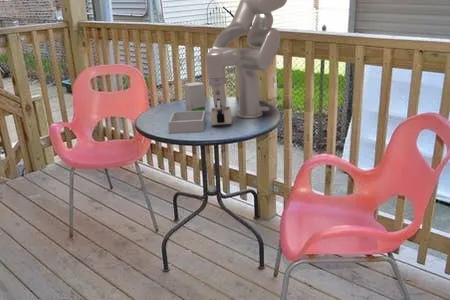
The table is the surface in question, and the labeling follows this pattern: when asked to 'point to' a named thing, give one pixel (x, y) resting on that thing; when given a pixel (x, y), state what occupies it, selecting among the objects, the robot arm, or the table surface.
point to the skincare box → (195, 96)
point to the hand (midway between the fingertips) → (221, 119)
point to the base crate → (187, 122)
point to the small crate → (226, 116)
